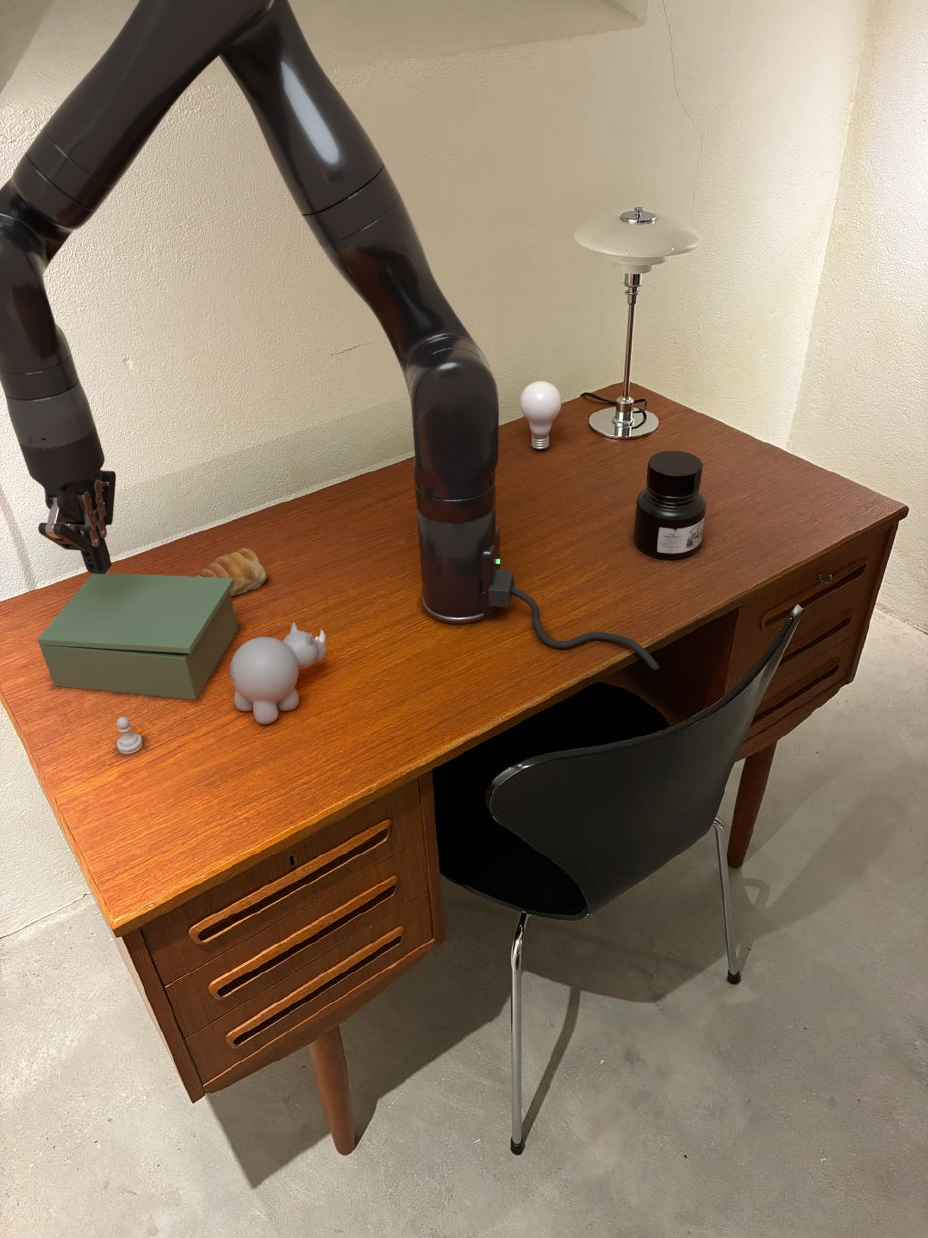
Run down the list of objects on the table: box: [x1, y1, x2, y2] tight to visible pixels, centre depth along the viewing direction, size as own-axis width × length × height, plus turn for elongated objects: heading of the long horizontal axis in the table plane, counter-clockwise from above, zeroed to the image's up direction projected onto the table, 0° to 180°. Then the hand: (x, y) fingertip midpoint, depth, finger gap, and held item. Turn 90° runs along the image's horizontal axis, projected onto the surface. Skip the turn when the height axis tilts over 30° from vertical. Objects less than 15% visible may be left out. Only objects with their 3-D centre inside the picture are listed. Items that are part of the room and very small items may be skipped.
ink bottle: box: [633, 450, 707, 560], centre depth 129 cm, size 10×9×12 cm
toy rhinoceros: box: [229, 622, 327, 725], centre depth 108 cm, size 7×12×8 cm, turn 135°
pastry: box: [194, 547, 267, 597], centre depth 127 cm, size 9×7×4 cm
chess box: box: [39, 592, 239, 701], centre depth 115 cm, size 17×13×6 cm
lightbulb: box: [519, 380, 563, 451], centre depth 152 cm, size 6×6×11 cm
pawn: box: [116, 716, 144, 755], centre depth 104 cm, size 3×3×4 cm
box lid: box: [37, 572, 235, 653], centre depth 113 cm, size 18×13×1 cm
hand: (100, 569), depth 110 cm, fingers closed
